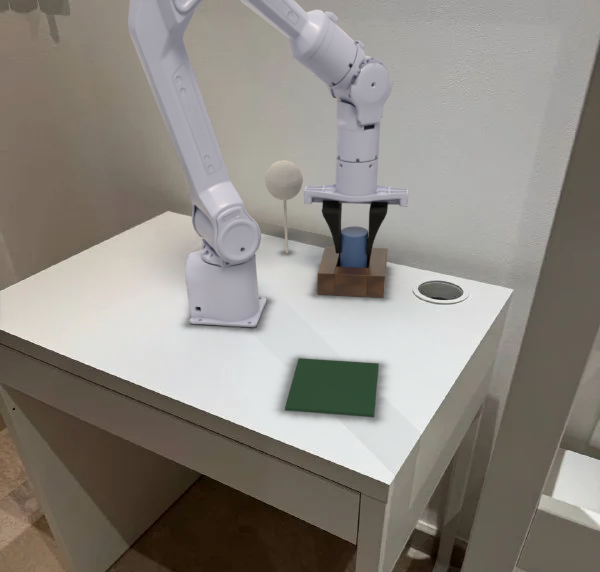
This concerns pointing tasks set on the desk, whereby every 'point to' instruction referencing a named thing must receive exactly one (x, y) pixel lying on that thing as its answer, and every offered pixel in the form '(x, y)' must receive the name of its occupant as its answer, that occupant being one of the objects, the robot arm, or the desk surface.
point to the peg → (354, 247)
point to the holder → (352, 275)
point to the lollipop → (284, 185)
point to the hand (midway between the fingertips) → (354, 251)
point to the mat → (334, 387)
